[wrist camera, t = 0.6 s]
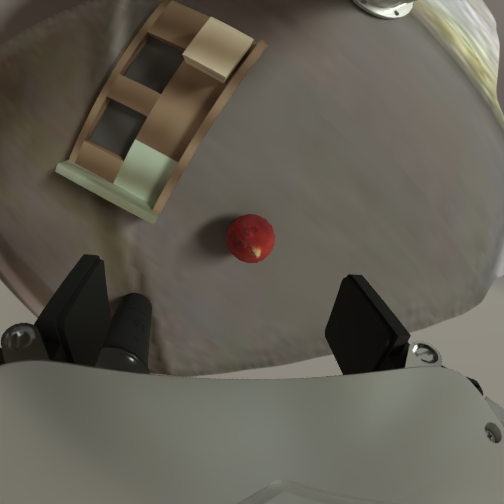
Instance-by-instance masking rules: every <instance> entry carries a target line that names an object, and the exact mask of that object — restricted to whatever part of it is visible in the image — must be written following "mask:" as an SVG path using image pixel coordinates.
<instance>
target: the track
mask: <svg viewBox="0 0 504 504" xmlns="http://www.w3.org/2000/svg"><path fill="white" fill-rule="evenodd" d="M209 19H210V17H209V16H207V15H204V14H202V13H200V12H198V11H196V10H194V9H191V8H189V7H187V6H185V5H182V4H180V3H177V2H175V1H173V0H163V1H162V2H161V3H160V4H159V6H158V7H157V8H156V9H155V11H154V12H153V13H152V15H151V16H150V17H149V18H148V20H147V21H146V22H145V24H144V25H143V26H142V28H141V29H140V31H139V32H138V33H137V35H136V36H135V38H134V39H133V40H132V42H131V43H130V45H129V46H128V48H127V49H126V51H125V52H124V54H123V55H122V57H121V59H120V60H119V62H118V63H117V65H116V67H115V68H114V70H113V71H112V73H111V75H110V77H109V78H108V80H107V82H106V83H105V85H104V87H103V89H102V91H101V92H100V94H99V96H98V98H97V100H96V102H95V104H94V106H93V107H92V109H91V111H90V113H89V115H88V117H87V120H86V122H85V124H84V126H83V128H82V130H81V132H80V134H79V137H78V139H77V141H76V143H75V146H74V148H73V150H72V153H71V155H70V158H69V160H67V161H64V162H61V163H59V164H58V165H57V167H56V170H55V172H57V173H59V174H60V175H62V176H64V177H66V178H68V179H69V180H71V181H73V182H75V183H77V184H79V185H80V186H82V187H84V188H86V189H88V190H89V191H91V192H93V193H95V194H97V195H99V196H101V197H102V198H104V199H106V200H108V201H110V202H112V203H113V204H115V205H117V206H119V207H121V208H123V209H125V210H127V211H128V212H130V213H132V214H134V215H136V216H138V217H140V218H142V219H143V220H145V221H147V222H149V223H151V224H153V225H155V223H156V221H157V219H158V217H159V215H160V213H161V211H162V209H163V208H164V206H165V204H166V202H167V200H168V198H169V196H170V195H171V193H172V191H173V189H174V187H175V186H176V184H177V182H178V180H179V179H180V177H181V175H182V173H183V172H184V170H185V168H186V166H187V165H188V163H189V161H190V160H191V158H192V156H193V155H194V153H195V151H196V150H197V148H198V146H199V145H200V143H201V141H202V140H203V138H204V137H205V135H206V133H207V132H208V130H209V129H210V127H211V126H212V124H213V122H214V121H215V119H216V118H217V116H218V115H219V113H220V112H221V110H222V109H223V107H224V106H225V104H226V103H227V101H228V100H229V98H230V97H231V95H232V94H233V93H234V91H235V90H236V88H237V87H238V85H239V84H240V83H241V81H242V80H243V78H244V77H245V76H246V74H247V73H248V71H249V70H250V69H251V67H252V66H253V65H254V63H255V62H256V61H257V59H258V58H259V57H260V55H261V54H262V53H263V51H264V50H265V49H266V47H267V46H268V45H269V43H267V42H266V41H264V40H262V39H261V40H260V42H259V43H257V42H255V41H254V40H253V42H252V44H251V46H250V48H249V49H248V51H247V52H246V54H245V55H244V56H243V58H242V59H241V60H240V62H239V63H238V64H237V66H236V67H235V69H234V70H233V71H232V73H231V74H230V76H229V77H228V78H227V80H226V81H225V83H224V84H223V83H221V82H220V81H218V80H216V79H214V78H213V77H211V76H209V75H207V74H205V73H203V72H201V71H200V70H198V69H196V68H194V67H192V66H190V65H188V64H186V62H185V59H184V57H183V55H182V54H183V52H184V51H185V50H186V48H187V47H188V46H189V44H190V43H191V42H192V40H193V39H194V38H195V36H196V35H197V34H198V32H199V31H200V30H201V29H202V27H203V26H204V25H205V23H206V22H207V21H208V20H209Z"/></svg>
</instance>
